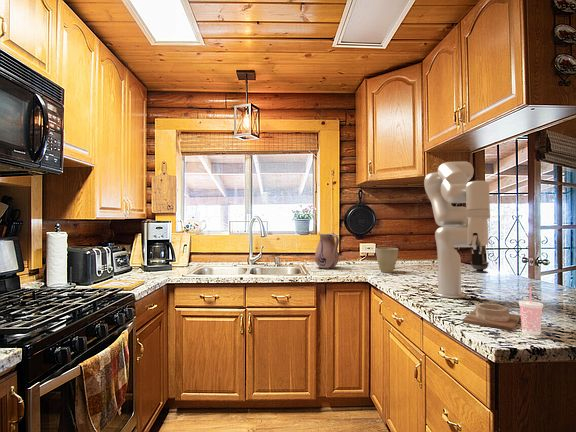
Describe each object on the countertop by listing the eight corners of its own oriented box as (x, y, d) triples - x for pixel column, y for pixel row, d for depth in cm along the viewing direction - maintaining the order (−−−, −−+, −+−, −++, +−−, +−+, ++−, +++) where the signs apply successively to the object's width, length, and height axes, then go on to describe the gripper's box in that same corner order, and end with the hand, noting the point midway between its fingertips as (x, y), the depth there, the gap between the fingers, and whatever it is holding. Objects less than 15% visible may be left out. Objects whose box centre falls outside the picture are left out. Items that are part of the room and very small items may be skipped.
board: (475, 311, 126) (475, 299, 126) (520, 318, 117) (520, 305, 117) (462, 322, 113) (462, 308, 113) (512, 331, 104) (512, 316, 104)
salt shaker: (482, 271, 125) (481, 239, 125) (492, 273, 119) (491, 239, 119) (467, 271, 124) (466, 239, 125) (476, 273, 119) (475, 239, 119)
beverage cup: (514, 329, 105) (513, 284, 105) (532, 329, 105) (531, 284, 106) (530, 336, 99) (529, 288, 99) (549, 335, 99) (548, 288, 100)
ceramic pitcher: (325, 265, 259) (325, 233, 259) (347, 268, 243) (347, 234, 244) (309, 268, 247) (309, 234, 248) (332, 271, 232) (331, 234, 232)
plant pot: (377, 273, 218) (377, 249, 219) (374, 270, 233) (373, 247, 233) (400, 274, 217) (400, 249, 217) (396, 270, 231) (396, 247, 232)
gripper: (472, 216, 132) (474, 262, 131) (460, 214, 119) (461, 265, 118) (494, 215, 127) (496, 263, 126) (484, 213, 114) (486, 267, 113)
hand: (479, 264), depth 122 cm, fingers closed on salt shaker, 5 cm apart
